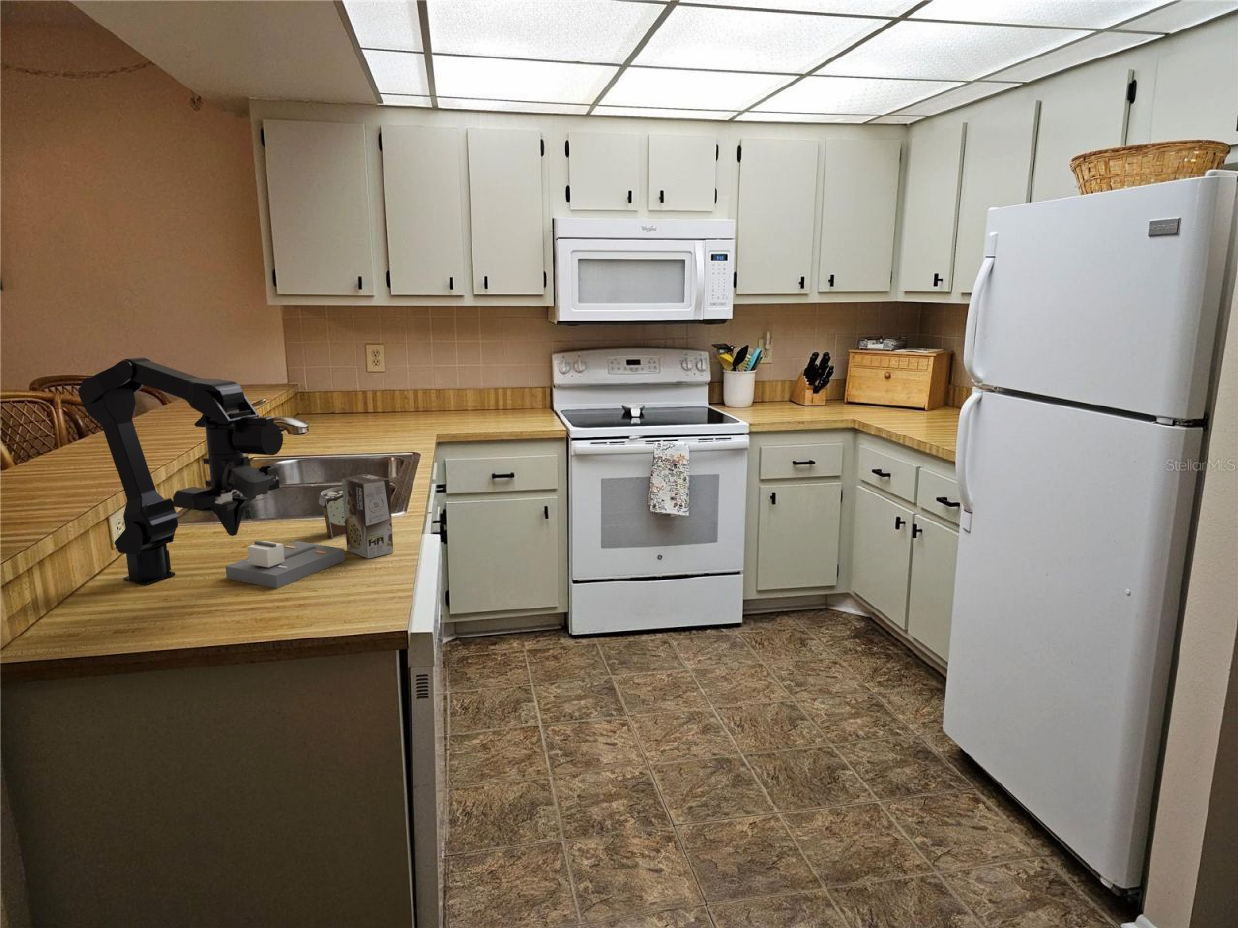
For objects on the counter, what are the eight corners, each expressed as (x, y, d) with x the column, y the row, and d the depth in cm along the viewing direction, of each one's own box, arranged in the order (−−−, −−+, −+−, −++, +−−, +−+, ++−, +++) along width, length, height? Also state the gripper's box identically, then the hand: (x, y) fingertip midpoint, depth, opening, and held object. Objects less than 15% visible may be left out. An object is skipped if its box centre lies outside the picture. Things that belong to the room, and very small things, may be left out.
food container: (355, 523, 194) (353, 483, 192) (371, 528, 191) (369, 486, 189) (310, 535, 184) (306, 492, 182) (326, 540, 181) (323, 496, 179)
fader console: (277, 588, 151) (276, 574, 150) (226, 578, 156) (225, 565, 155) (345, 560, 167) (344, 547, 167) (297, 552, 172) (296, 540, 172)
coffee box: (394, 552, 172) (391, 478, 169) (367, 559, 168) (363, 483, 165) (372, 543, 179) (368, 472, 175) (345, 550, 174) (340, 477, 171)
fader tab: (268, 567, 154) (266, 547, 153) (249, 563, 156) (247, 543, 155) (284, 561, 157) (283, 541, 156) (265, 557, 159) (263, 538, 158)
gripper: (213, 465, 134) (221, 555, 137) (298, 447, 151) (304, 527, 154) (166, 459, 138) (175, 546, 142) (254, 442, 155) (261, 520, 158)
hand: (232, 535), depth 149 cm, fingers closed
